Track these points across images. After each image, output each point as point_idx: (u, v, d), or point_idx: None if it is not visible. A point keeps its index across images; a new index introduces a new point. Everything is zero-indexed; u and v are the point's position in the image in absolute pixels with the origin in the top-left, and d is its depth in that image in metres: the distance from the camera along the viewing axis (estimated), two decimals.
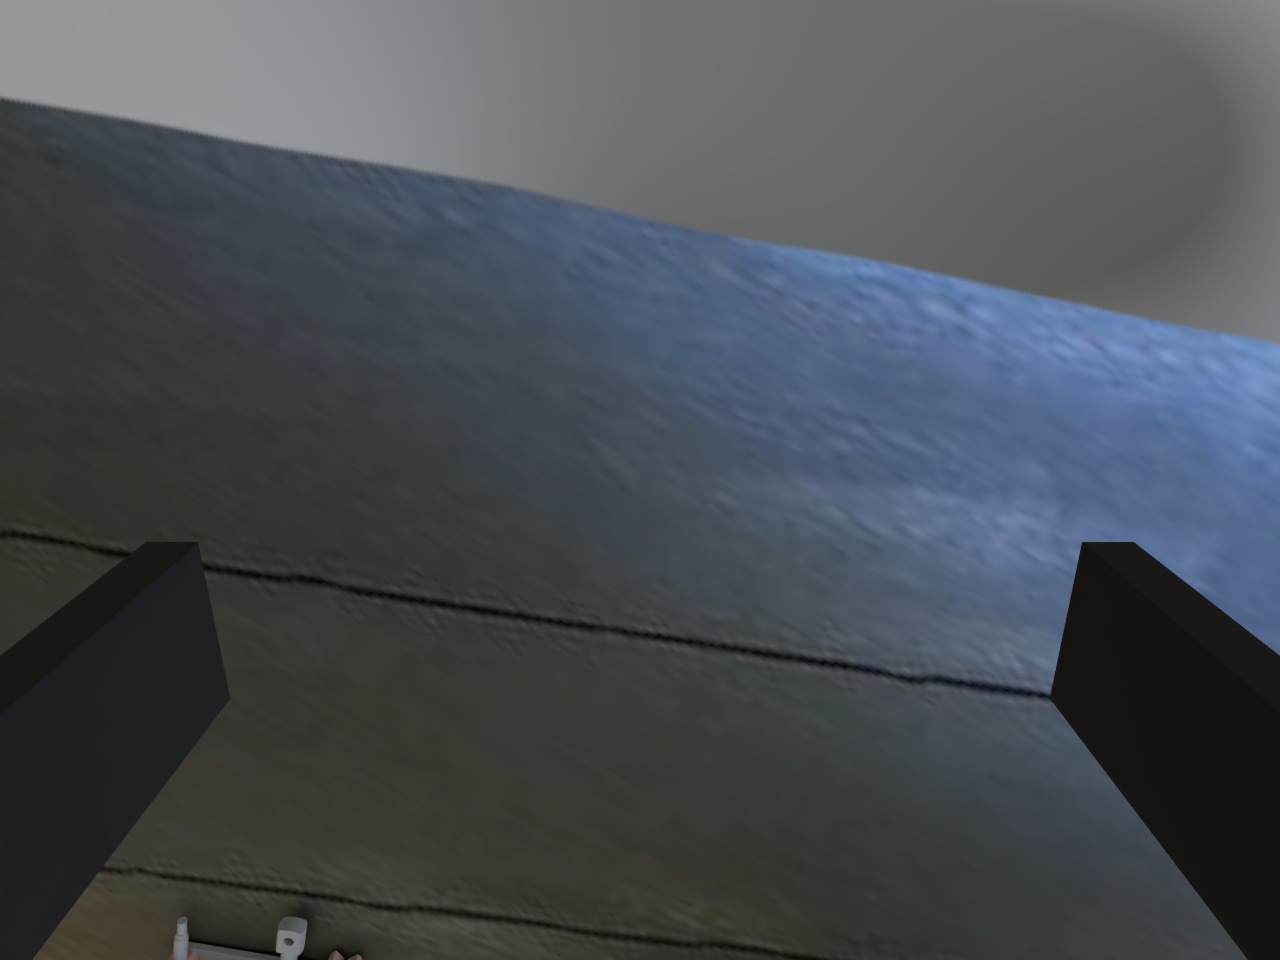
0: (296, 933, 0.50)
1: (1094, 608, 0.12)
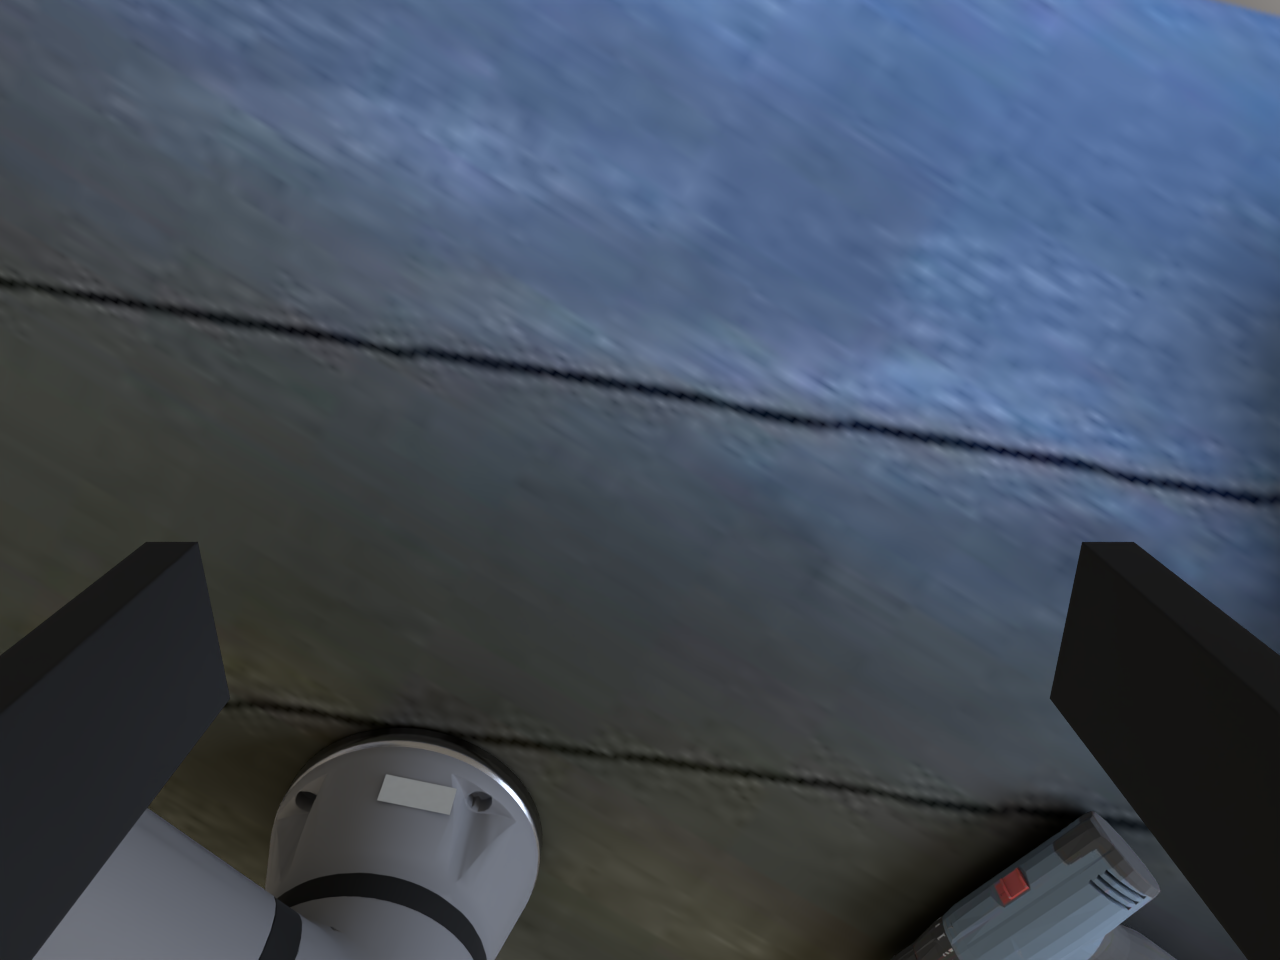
0: None
1: (1094, 608, 0.12)
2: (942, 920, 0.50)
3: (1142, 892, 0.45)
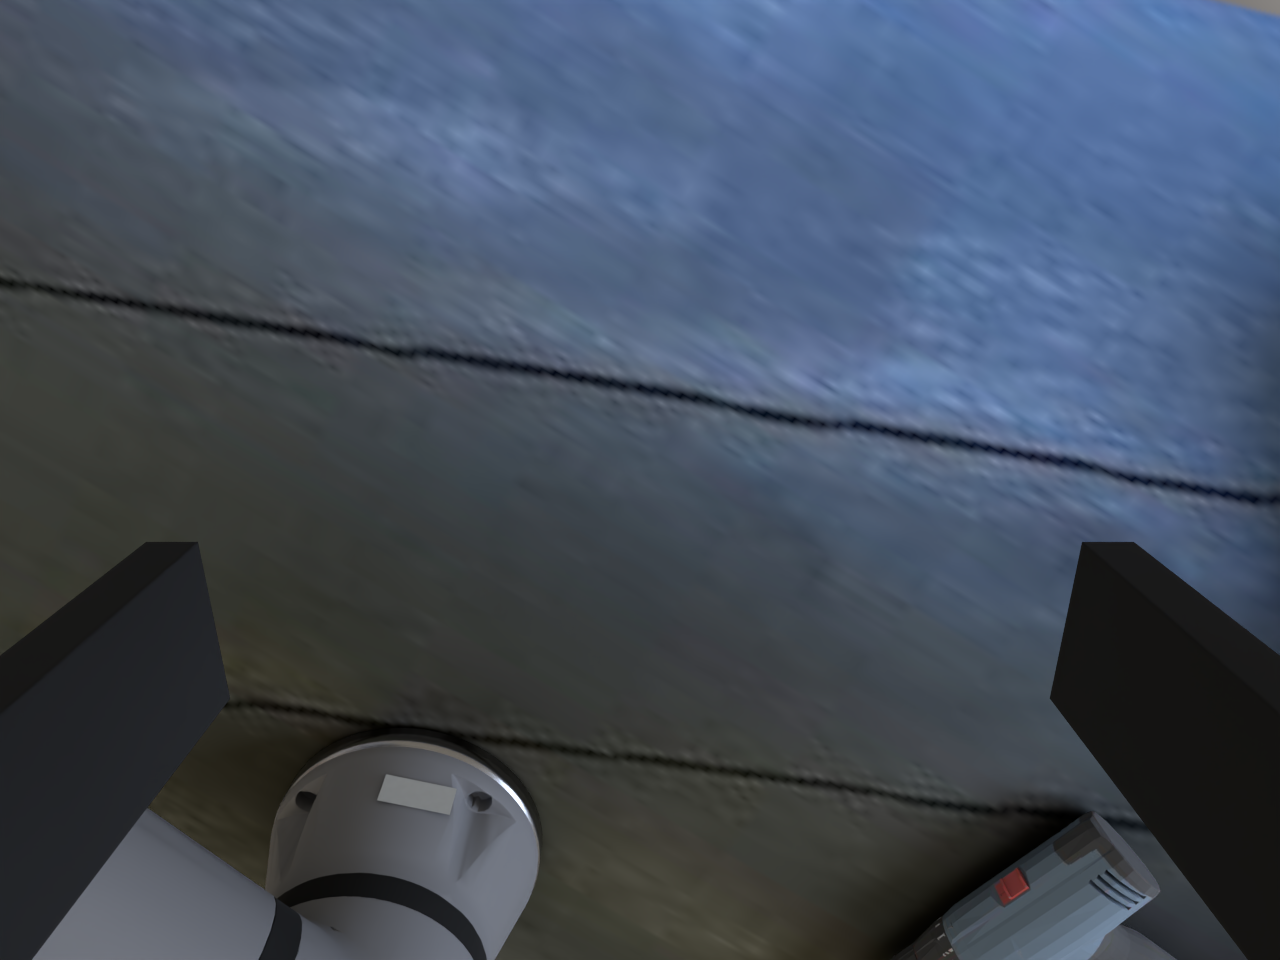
0: None
1: (1094, 608, 0.12)
2: (942, 920, 0.50)
3: (1142, 892, 0.45)
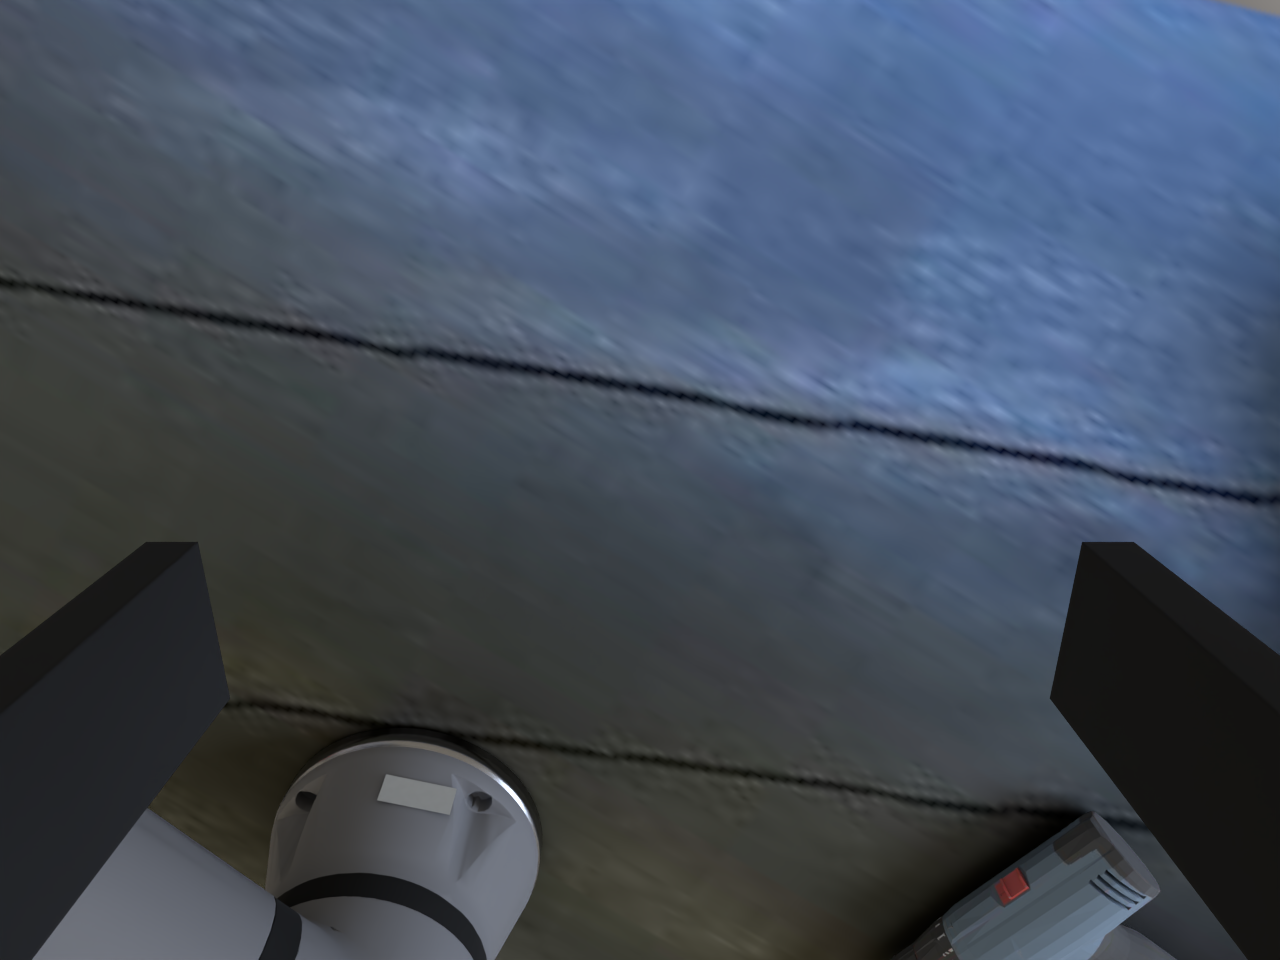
0: None
1: (1094, 608, 0.12)
2: (942, 920, 0.50)
3: (1142, 892, 0.45)
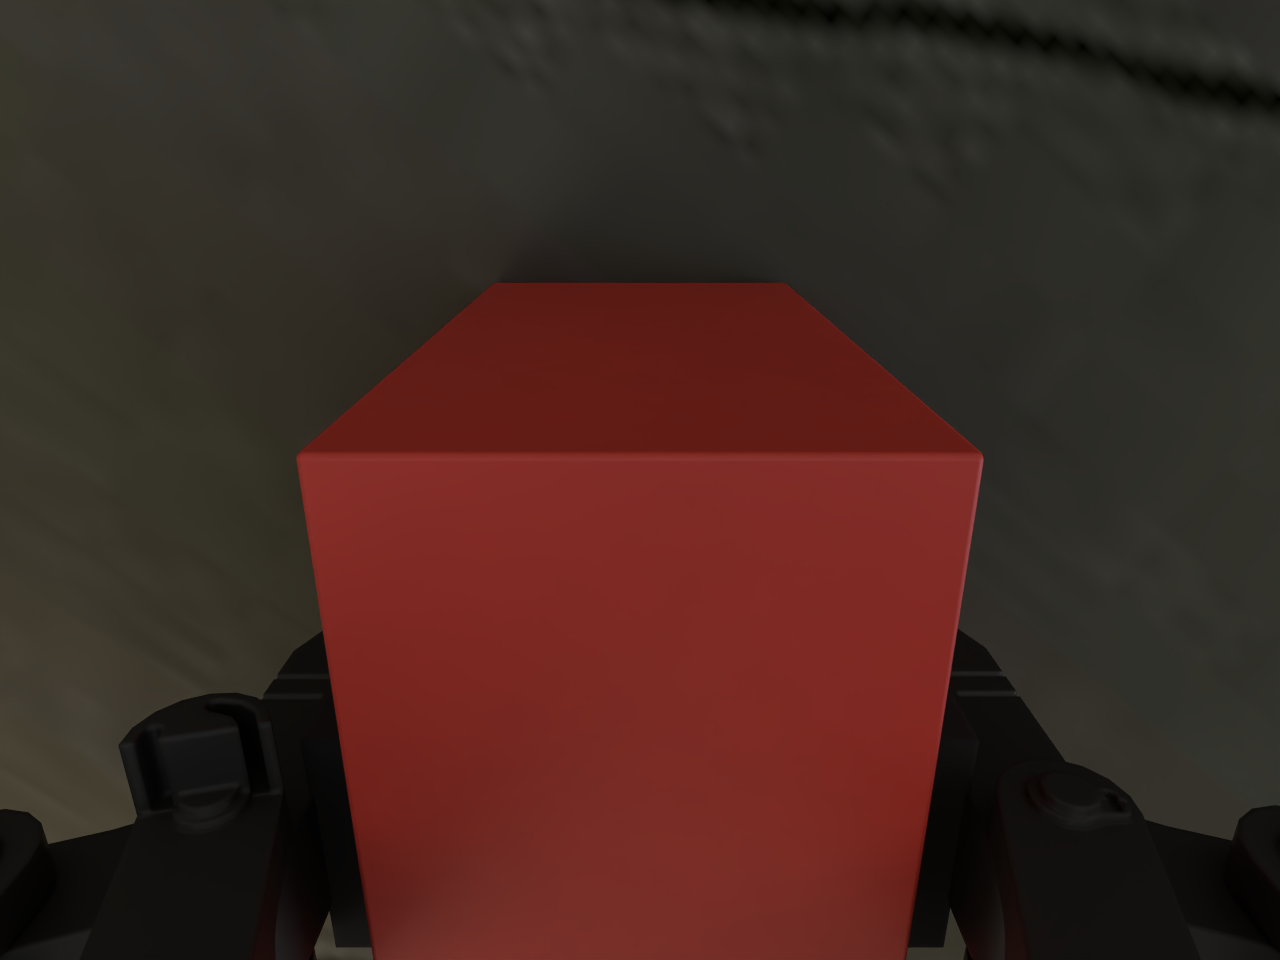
0: None
1: None
2: None
3: None
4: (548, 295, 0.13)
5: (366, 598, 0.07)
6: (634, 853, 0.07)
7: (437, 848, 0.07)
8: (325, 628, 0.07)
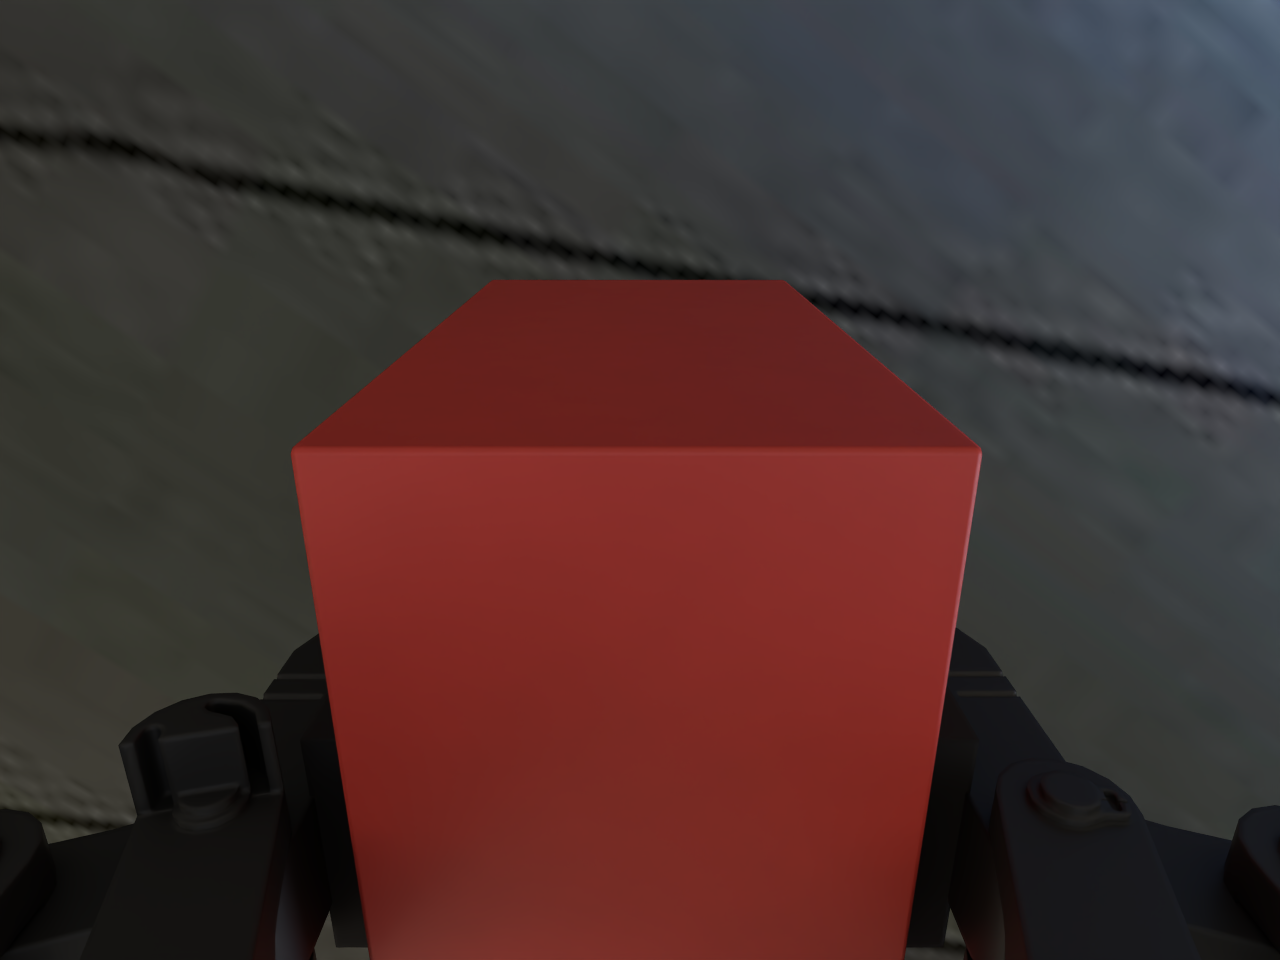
0: None
1: None
2: None
3: None
4: (546, 292, 0.13)
5: (361, 594, 0.06)
6: (632, 851, 0.07)
7: (434, 845, 0.07)
8: (320, 624, 0.07)
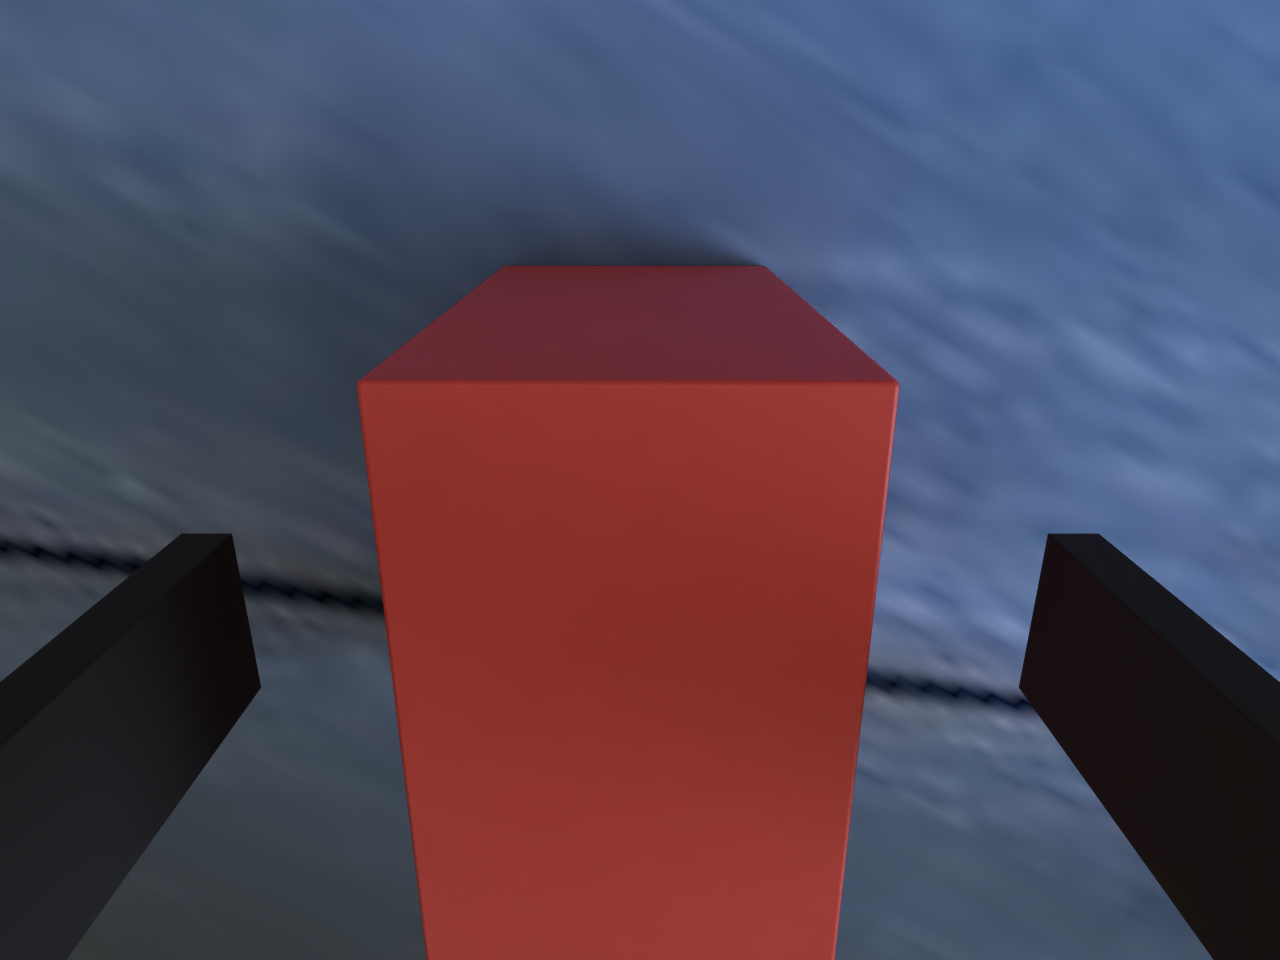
0: None
1: (1059, 598, 0.12)
2: None
3: None
4: (552, 275, 0.15)
5: (410, 500, 0.08)
6: (624, 720, 0.09)
7: (464, 714, 0.09)
8: (376, 525, 0.08)
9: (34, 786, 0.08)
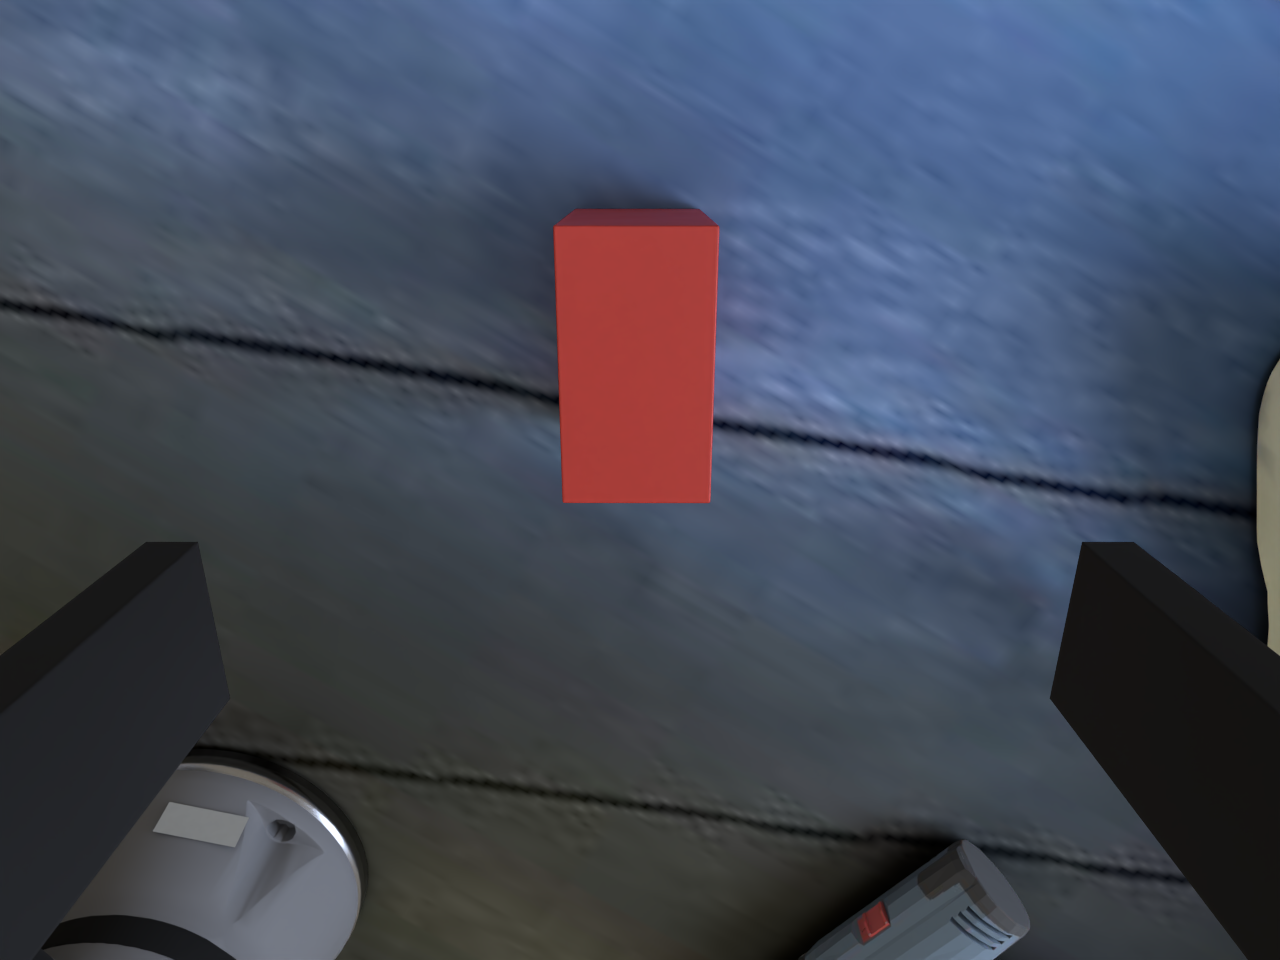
0: None
1: (1094, 608, 0.12)
2: (805, 957, 0.46)
3: (1006, 931, 0.41)
4: (600, 210, 0.32)
5: (567, 265, 0.26)
6: (634, 347, 0.27)
7: (580, 345, 0.27)
8: (556, 274, 0.26)
9: None
